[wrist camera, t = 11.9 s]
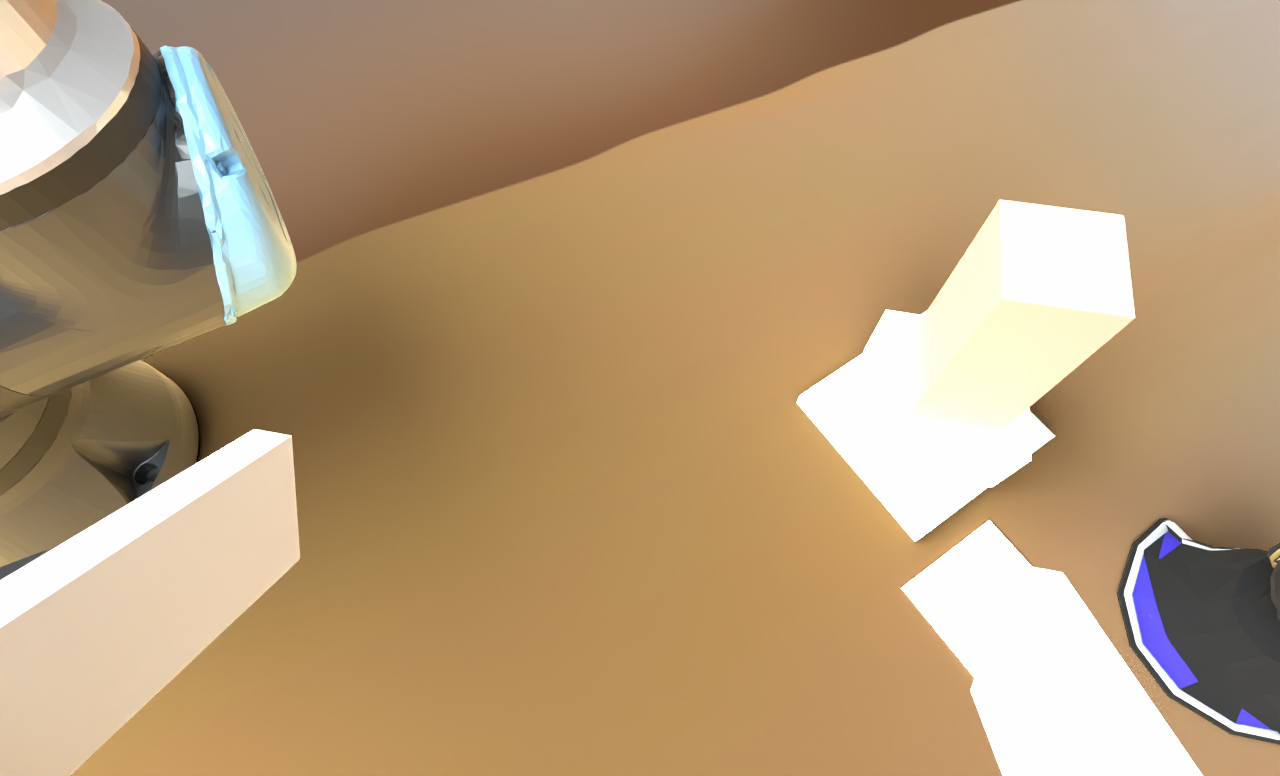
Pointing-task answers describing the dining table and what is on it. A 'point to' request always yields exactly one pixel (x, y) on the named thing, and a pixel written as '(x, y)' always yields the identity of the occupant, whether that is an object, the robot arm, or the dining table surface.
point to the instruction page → (966, 591)
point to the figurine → (1207, 627)
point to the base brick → (926, 421)
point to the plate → (901, 493)
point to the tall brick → (1019, 313)
